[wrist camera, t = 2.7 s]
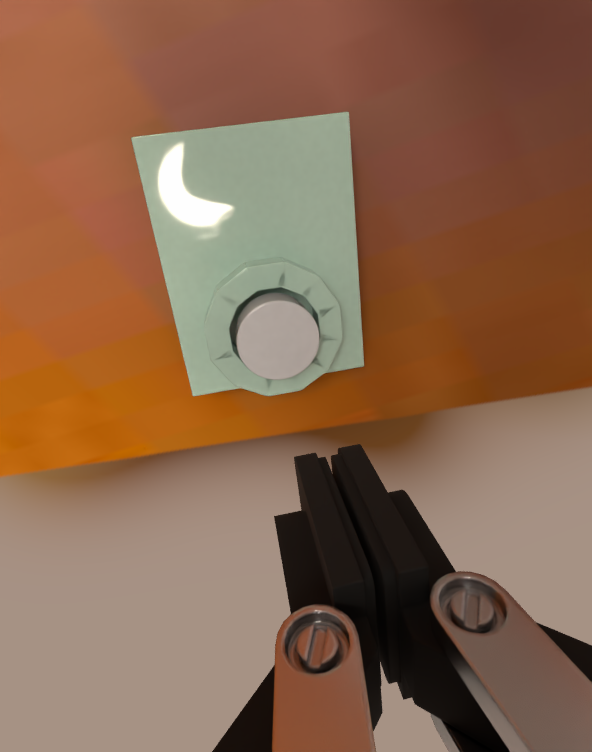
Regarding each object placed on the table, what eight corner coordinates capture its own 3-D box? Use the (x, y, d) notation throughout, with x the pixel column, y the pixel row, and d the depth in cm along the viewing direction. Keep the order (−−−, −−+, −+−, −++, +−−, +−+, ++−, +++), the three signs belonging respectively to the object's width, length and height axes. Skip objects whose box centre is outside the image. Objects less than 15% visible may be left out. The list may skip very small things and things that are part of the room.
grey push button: (229, 299, 22) (229, 308, 20) (308, 286, 22) (315, 294, 21) (242, 373, 24) (244, 386, 22) (316, 360, 24) (323, 372, 22)
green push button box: (141, 143, 23) (122, 132, 18) (332, 120, 24) (360, 105, 19) (195, 374, 28) (190, 411, 23) (349, 348, 29) (374, 378, 24)
